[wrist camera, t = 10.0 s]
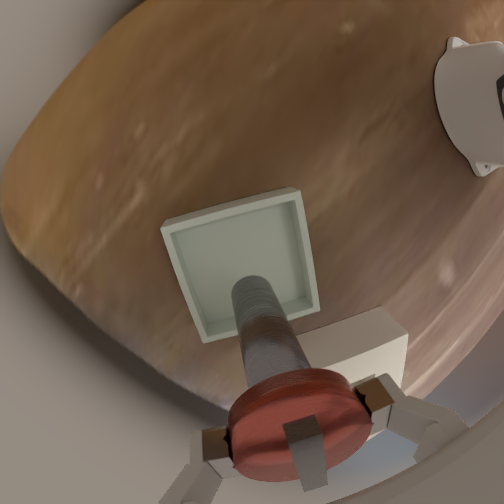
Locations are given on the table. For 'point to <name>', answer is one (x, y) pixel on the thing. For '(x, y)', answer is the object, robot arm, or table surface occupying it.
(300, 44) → the table surface
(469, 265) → the table surface
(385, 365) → the block
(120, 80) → the table surface
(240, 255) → the tray
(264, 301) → the red disc rod
